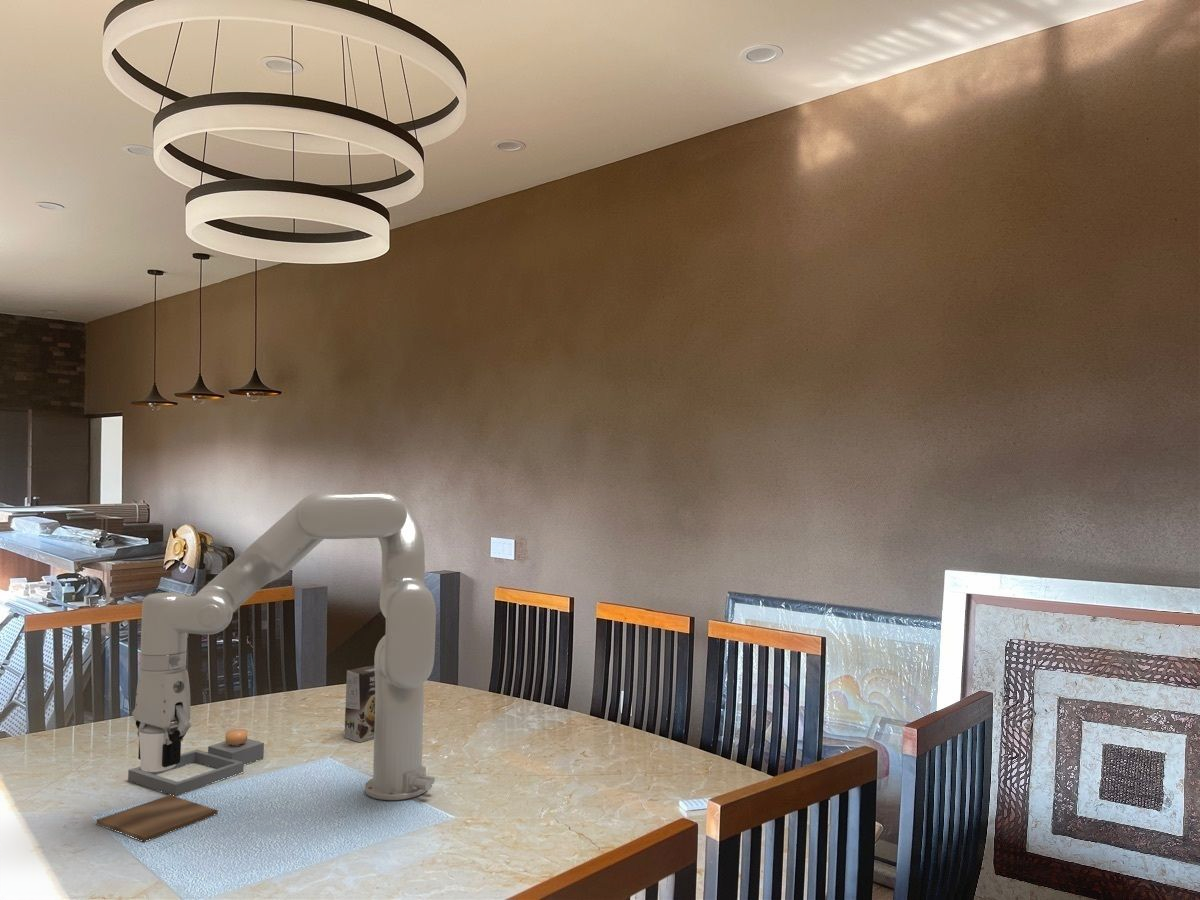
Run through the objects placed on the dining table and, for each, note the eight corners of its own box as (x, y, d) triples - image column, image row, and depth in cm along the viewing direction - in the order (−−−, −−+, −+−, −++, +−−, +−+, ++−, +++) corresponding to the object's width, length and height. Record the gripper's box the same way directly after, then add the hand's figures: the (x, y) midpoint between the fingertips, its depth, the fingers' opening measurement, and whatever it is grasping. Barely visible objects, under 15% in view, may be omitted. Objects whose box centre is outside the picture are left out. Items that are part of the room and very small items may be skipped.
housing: (274, 762, 185) (275, 745, 185) (175, 796, 165) (175, 778, 165) (228, 749, 193) (229, 734, 193) (128, 780, 172) (128, 763, 173)
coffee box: (360, 743, 199) (362, 674, 200) (343, 737, 203) (345, 669, 203) (391, 734, 206) (393, 667, 207) (374, 729, 210) (376, 663, 211)
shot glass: (167, 773, 151) (169, 734, 151) (128, 772, 151) (130, 732, 151) (186, 760, 158) (188, 722, 158) (149, 759, 158) (151, 721, 158)
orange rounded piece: (251, 751, 186) (251, 731, 186) (233, 757, 183) (234, 736, 183) (238, 747, 189) (238, 727, 189) (220, 753, 185) (221, 733, 185)
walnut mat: (217, 814, 157) (217, 810, 157) (144, 842, 144) (144, 837, 144) (169, 798, 164) (170, 794, 164) (96, 824, 151) (96, 819, 151)
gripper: (212, 664, 154) (208, 764, 153) (153, 652, 162) (149, 747, 162) (173, 671, 147) (169, 776, 147) (114, 659, 156) (110, 758, 155)
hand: (159, 760), depth 154 cm, fingers closed on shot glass, 6 cm apart
